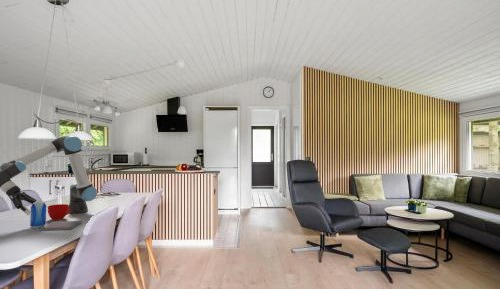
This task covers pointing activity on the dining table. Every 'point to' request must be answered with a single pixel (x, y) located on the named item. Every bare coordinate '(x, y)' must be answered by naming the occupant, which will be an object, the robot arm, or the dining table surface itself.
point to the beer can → (38, 215)
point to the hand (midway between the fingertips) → (35, 211)
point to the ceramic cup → (58, 211)
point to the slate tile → (61, 225)
